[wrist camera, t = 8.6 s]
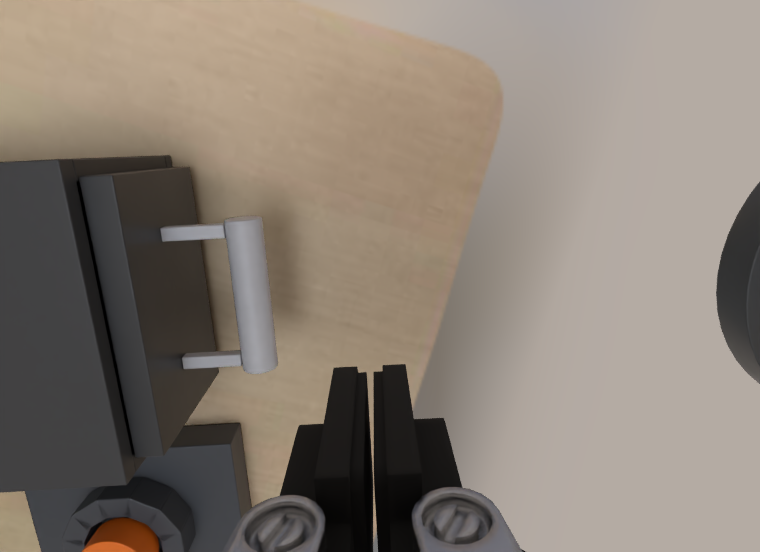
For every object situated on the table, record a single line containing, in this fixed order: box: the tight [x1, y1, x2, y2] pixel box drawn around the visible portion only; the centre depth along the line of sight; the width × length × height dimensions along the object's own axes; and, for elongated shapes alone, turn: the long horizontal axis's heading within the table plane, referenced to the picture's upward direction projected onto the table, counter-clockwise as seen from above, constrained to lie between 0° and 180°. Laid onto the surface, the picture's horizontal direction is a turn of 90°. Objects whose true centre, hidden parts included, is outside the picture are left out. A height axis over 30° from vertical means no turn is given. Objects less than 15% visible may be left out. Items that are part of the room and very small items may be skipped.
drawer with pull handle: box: [78, 167, 278, 458], centre depth 22 cm, size 18×11×8 cm, turn 93°
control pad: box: [25, 423, 251, 552], centre depth 29 cm, size 12×10×4 cm
